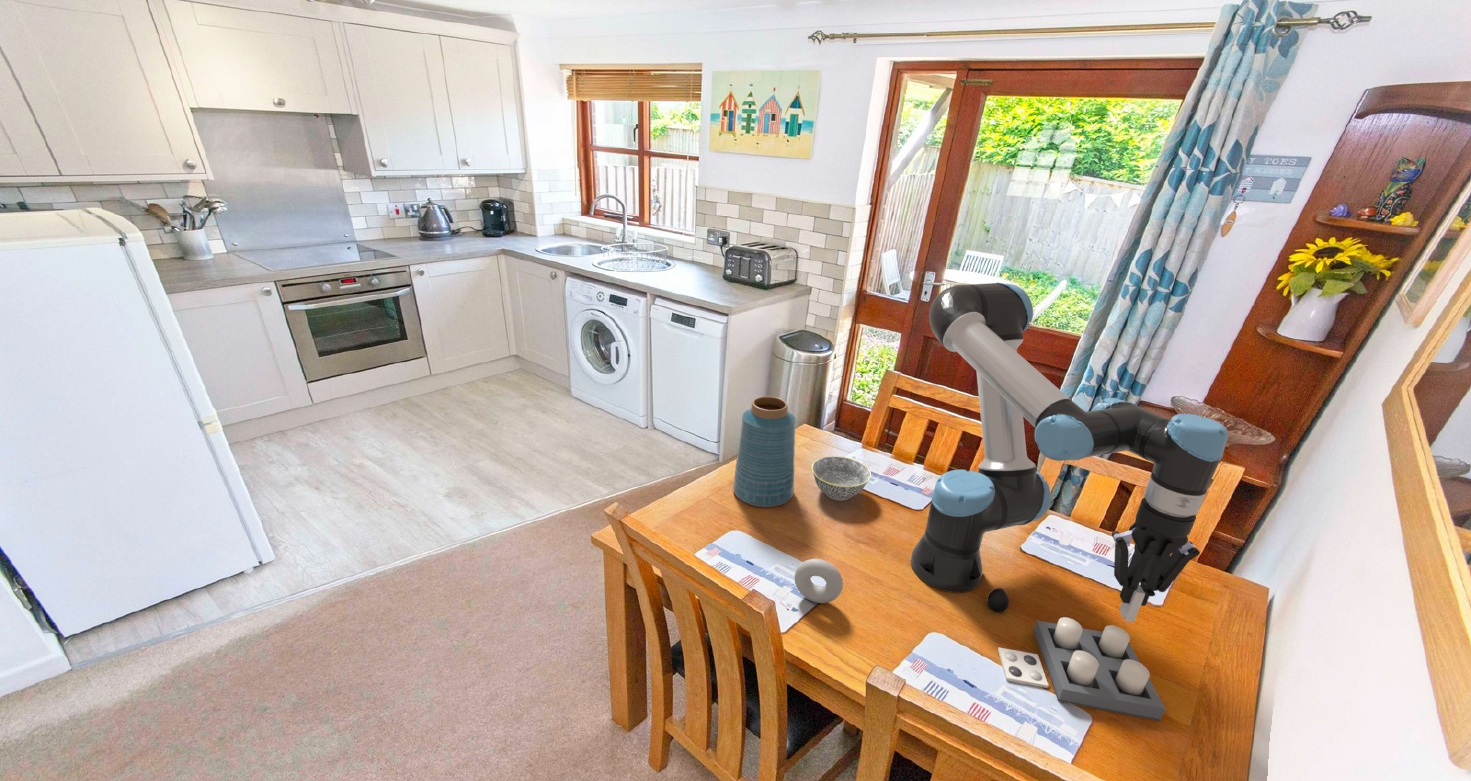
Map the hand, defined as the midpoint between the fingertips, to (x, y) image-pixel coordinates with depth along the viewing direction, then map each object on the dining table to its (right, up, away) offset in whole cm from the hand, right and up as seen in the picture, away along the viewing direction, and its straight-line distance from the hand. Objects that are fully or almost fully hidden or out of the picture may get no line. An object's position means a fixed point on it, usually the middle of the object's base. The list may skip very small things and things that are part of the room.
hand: (1126, 616), depth 104 cm
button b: (-2, -11, -4) cm, 12 cm away
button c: (-8, -7, +5) cm, 12 cm away
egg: (-16, -5, +16) cm, 23 cm away
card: (-18, -10, +2) cm, 21 cm away
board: (-5, -11, +2) cm, 12 cm away
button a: (-10, -10, -2) cm, 14 cm away
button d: (-1, -8, +4) cm, 9 cm away
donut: (-54, -3, +16) cm, 56 cm away
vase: (-63, +13, +52) cm, 83 cm away
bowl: (-43, +12, +53) cm, 69 cm away
